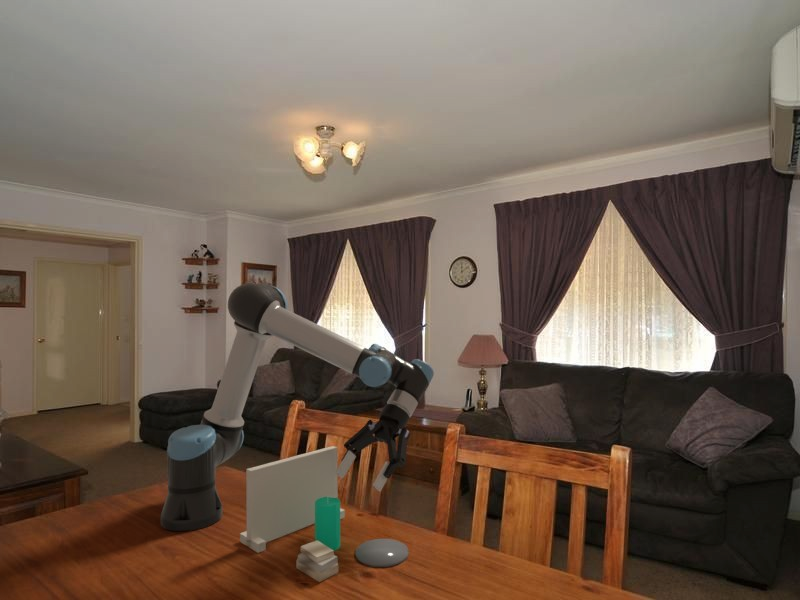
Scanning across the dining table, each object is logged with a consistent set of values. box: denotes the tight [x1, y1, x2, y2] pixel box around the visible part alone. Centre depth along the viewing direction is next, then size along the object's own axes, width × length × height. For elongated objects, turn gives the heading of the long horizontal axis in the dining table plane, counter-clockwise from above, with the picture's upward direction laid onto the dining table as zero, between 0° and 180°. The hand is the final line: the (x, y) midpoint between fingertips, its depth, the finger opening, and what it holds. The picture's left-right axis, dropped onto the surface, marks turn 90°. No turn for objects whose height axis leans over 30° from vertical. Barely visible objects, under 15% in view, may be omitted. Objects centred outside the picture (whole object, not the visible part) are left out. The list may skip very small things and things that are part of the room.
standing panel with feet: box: [239, 445, 346, 554], centre depth 129 cm, size 8×26×18 cm, turn 137°
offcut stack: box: [295, 540, 339, 583], centre depth 109 cm, size 8×5×4 cm, turn 47°
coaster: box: [355, 538, 409, 568], centre depth 116 cm, size 12×12×1 cm
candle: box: [314, 495, 341, 551], centre depth 120 cm, size 6×6×12 cm
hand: (356, 481), depth 126 cm, fingers open, 13 cm apart
